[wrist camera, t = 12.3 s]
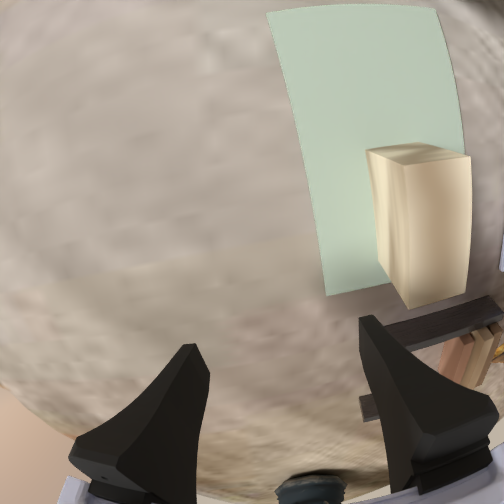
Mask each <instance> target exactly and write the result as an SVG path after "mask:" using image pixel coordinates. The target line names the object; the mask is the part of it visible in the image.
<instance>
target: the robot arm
mask: <svg viewBox="0 0 504 504" xmlns="http://www.w3.org/2000/svg"><path fill="white" fill-rule="evenodd" d="M499 270H500V271H502V272H504V236H503V244H502V252H501V258H500V264H499ZM359 352H360V356H361V360H362V365H363V369H364V372H365V375H366V378H367V381H368V384H369V387H370V389H371V392H372V395H373V398H374V401H375V404H376V407H377V410H378V413H379V417H380V421H381V426H382V431H383V436H384V442H385V448H386V454H387V461H388V469H389V478H390V488H391V494H390V495H386V496H382V497H378V498H374V499H370V500H366V501H360V502H356V503H350V504H504V442H503V443H501V444H500V445H498V446H496V447H495V448H494V449H492V450H491V451H490V450H489V448H488V445H489V444H490V440H489V438H488V434H489V433H490V432H491V430H492V429H493V427H494V426H495V425H496V423H497V421H498V419H499V413H498V411H497V409H496V406H495V405H494V403H493V401H492V400H491V399H490V397H489V395H486V394H483V393H480V392H477V391H474V390H471V389H469V388H466V387H464V386H462V385H460V384H458V383H455V382H454V381H452V380H450V379H448V378H446V377H445V376H443V375H441V374H439V373H438V372H436V371H435V370H433V369H431V368H430V367H429V366H427V365H426V364H424V363H423V362H422V361H420V360H419V359H418V358H417V357H415V356H414V355H413V354H412V353H411V352H409V351H408V350H407V349H406V348H405V347H404V346H403V345H402V344H401V343H400V342H398V341H397V340H396V339H395V338H394V337H393V336H392V335H391V334H390V333H389V332H388V331H387V330H386V328H385V327H384V326H383V325H382V324H381V323H380V322H379V321H378V320H377V318H376V317H375V316H374V315H368V316H364V317H359ZM209 382H210V372H209V370H208V368H207V366H206V364H205V362H204V360H203V358H202V356H201V354H200V352H199V349H198V347H197V345H196V343H194V344H183V346H182V347H181V348H180V349H179V350H178V352H177V353H176V354H175V355H174V357H173V358H172V359H171V360H170V362H169V363H168V364H167V365H166V366H165V368H164V369H163V370H162V371H161V373H160V374H159V375H158V376H157V377H156V378H155V379H154V381H153V382H152V383H151V384H150V385H149V386H148V387H147V388H146V389H145V390H144V391H143V392H142V393H141V394H140V395H139V396H138V397H137V398H136V399H135V400H134V401H133V402H132V403H131V404H129V405H128V406H127V407H126V408H125V409H123V410H122V411H121V412H119V413H118V414H117V415H115V416H114V417H113V418H111V419H110V420H108V421H107V422H105V423H103V424H102V425H100V426H98V427H97V428H95V429H93V430H91V431H89V432H87V433H85V434H83V435H81V436H78V437H77V438H76V440H75V443H74V445H73V447H72V450H71V452H70V454H69V456H68V458H69V461H70V462H71V463H72V464H73V465H74V466H75V467H76V468H78V469H79V470H80V471H81V472H83V473H84V474H86V475H87V476H88V477H90V478H91V479H92V481H91V483H88V482H86V481H83V480H80V479H77V478H75V477H72V476H67V479H66V481H65V484H64V487H63V489H62V491H61V494H60V497H59V499H58V502H57V504H197V498H196V468H197V452H198V441H199V434H200V429H201V425H202V420H203V416H204V411H205V407H206V402H207V398H208V393H209Z"/></svg>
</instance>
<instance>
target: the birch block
mask: <svg viewBox="0 0 504 504" xmlns="http://www.w3.org/2000/svg"><path fill="white" fill-rule="evenodd" d="M365 153H366V159H367V165H368V171H369V178H370V185H371V192H372V200H373V208H374V217H375V227H376V238H377V251H378V261H379V263H380V264H381V266H382V268H383V269H384V271H385V272H386V274H387V275H388V277H389V279H390V280H391V282H392V283H393V285H394V287H395V288H396V290H397V292H398V293H399V295H400V296H401V298H402V300H403V301H404V303H405V305H406V307H407V308H408V310H410V309H414V308H417V307H421V306H424V305H428V304H431V303H434V302H438V301H441V300H444V299H447V298H451V297H454V296H457V295H460V294H463V293H465V289H466V281H467V274H468V265H469V255H470V242H471V224H472V176H471V158H470V156H467V155H464V154H461V153H457V152H454V151H451V150H447V149H444V148H440V147H437V146H433V145H429V144H425V143H421V142H413V143H405V144H398V145H391V146H384V147H378V148H371V149H365Z"/></svg>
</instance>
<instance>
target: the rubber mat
mask: <svg viewBox="0 0 504 504" xmlns="http://www.w3.org/2000/svg"><path fill="white" fill-rule="evenodd" d="M266 16H267V20H268V23H269V26H270V29H271V33H272V36H273V40H274V43H275V46H276V50H277V54H278V57H279V61H280V64H281V68H282V72H283V76H284V79H285V83H286V87H287V91H288V95H289V99H290V103H291V107H292V111H293V116H294V120H295V124H296V129H297V133H298V137H299V142H300V147H301V151H302V156H303V161H304V166H305V171H306V176H307V181H308V186H309V191H310V196H311V202H312V207H313V213H314V219H315V225H316V231H317V237H318V243H319V249H320V256H321V262H322V269H323V276H324V284H325V291H326V296H329V295H334V294H339V293H344V292H349V291H354V290H359V289H363V288H368V287H373V286H377V285H382V284H386V283H390V282H391V280H390V279H389V277H388V275H387V274H386V272H385V271H384V269H383V268H382V266H381V264H380V263H379V261H378V251H377V238H376V227H375V217H374V208H373V200H372V192H371V185H370V178H369V171H368V165H367V159H366V153H365V149H371V148H378V147H384V146H391V145H398V144H405V143H413V142H421V143H425V144H429V145H433V146H437V147H440V148H444V149H447V150H451V151H454V152H457V153H461V154H464V155H465V151H464V140H463V130H462V121H461V114H460V107H459V101H458V95H457V89H456V84H455V79H454V74H453V70H452V65H451V61H450V57H449V53H448V49H447V46H446V42H445V39H444V35H443V32H442V29H441V26H440V22H439V19H438V16H437V14H436V11H435V9H434V8H426V7H417V6H406V5H391V4H338V5H323V6H312V7H302V8H294V9H287V10H281V11H274V12H269V13H266Z"/></svg>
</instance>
